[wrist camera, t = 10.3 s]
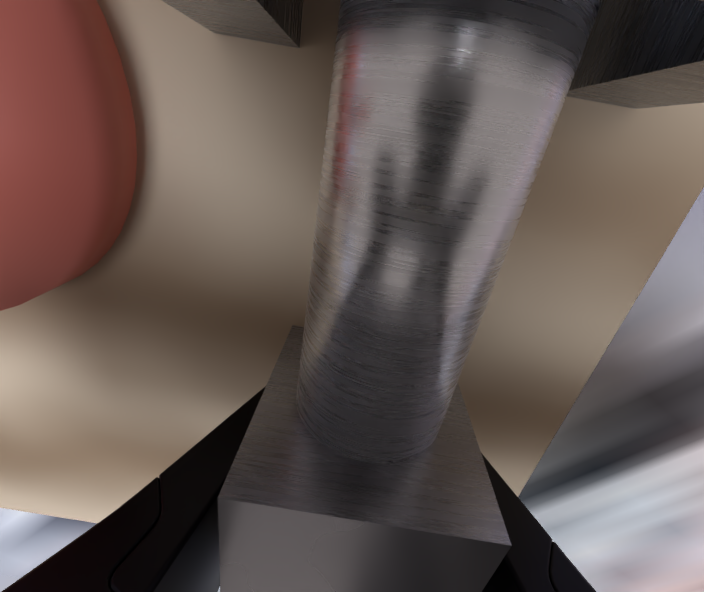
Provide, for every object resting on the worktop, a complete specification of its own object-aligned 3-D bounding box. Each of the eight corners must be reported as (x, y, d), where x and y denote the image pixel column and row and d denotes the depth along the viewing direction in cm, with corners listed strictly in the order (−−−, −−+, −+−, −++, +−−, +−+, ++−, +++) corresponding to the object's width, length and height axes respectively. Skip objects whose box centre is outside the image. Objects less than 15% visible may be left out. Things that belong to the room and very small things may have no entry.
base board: (459, 549, 15) (466, 582, 14) (5, 476, 15) (-24, 503, 13) (792, -69, 6) (883, -114, 5) (-338, -281, 6) (-501, -377, 5)
